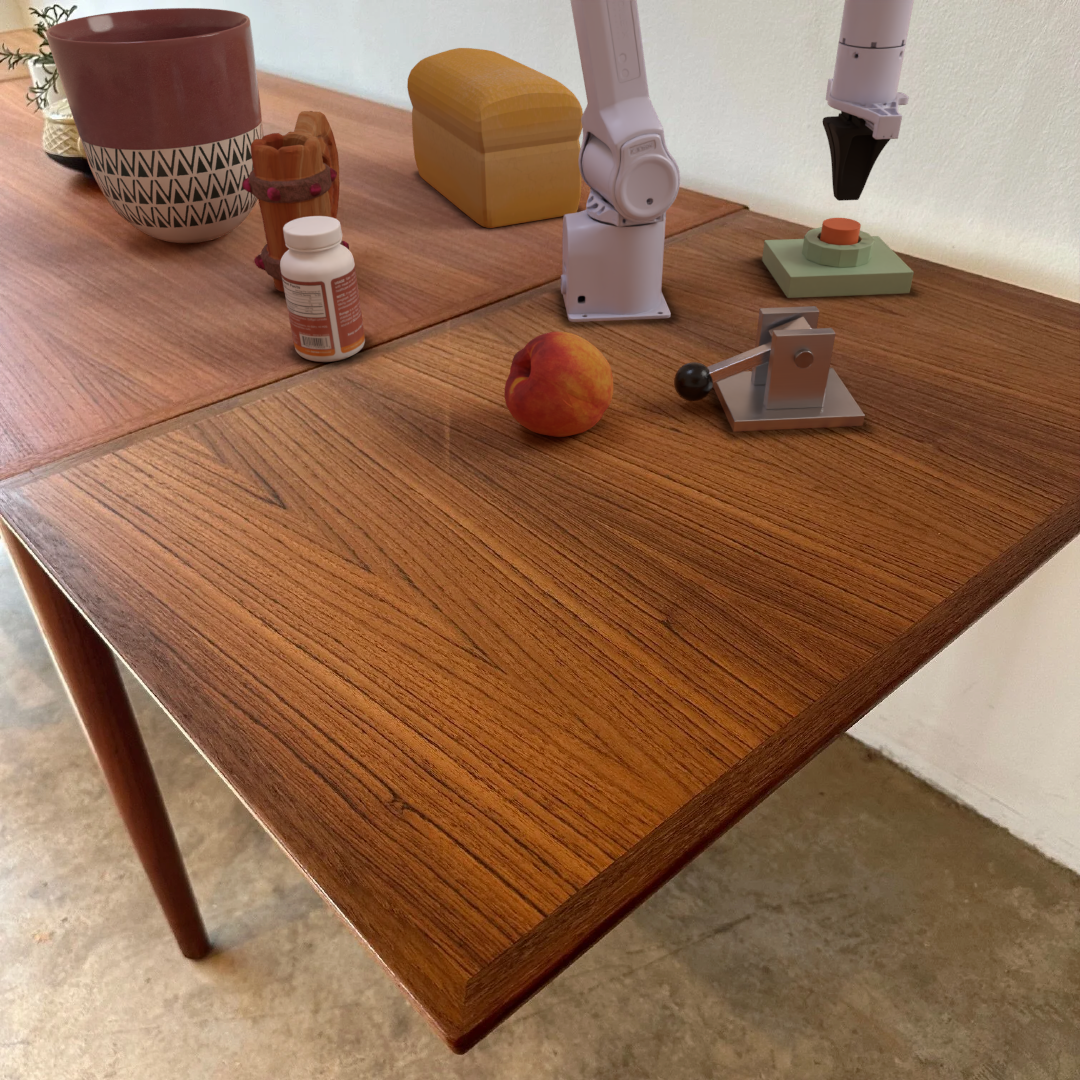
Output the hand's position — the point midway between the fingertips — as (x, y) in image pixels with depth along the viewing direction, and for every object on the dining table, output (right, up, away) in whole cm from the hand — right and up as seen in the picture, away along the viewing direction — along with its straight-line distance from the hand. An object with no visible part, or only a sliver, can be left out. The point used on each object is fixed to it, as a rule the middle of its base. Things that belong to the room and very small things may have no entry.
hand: (846, 198), depth 96 cm
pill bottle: (-48, -16, -7) cm, 51 cm away
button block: (0, -6, +5) cm, 8 cm away
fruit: (-28, -25, -19) cm, 42 cm away
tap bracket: (-10, -22, -17) cm, 30 cm away
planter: (-68, +1, +17) cm, 70 cm away
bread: (-35, +10, +28) cm, 46 cm away
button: (0, -3, +2) cm, 4 cm away
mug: (-52, -6, +6) cm, 53 cm away
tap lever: (-13, -20, -19) cm, 31 cm away
